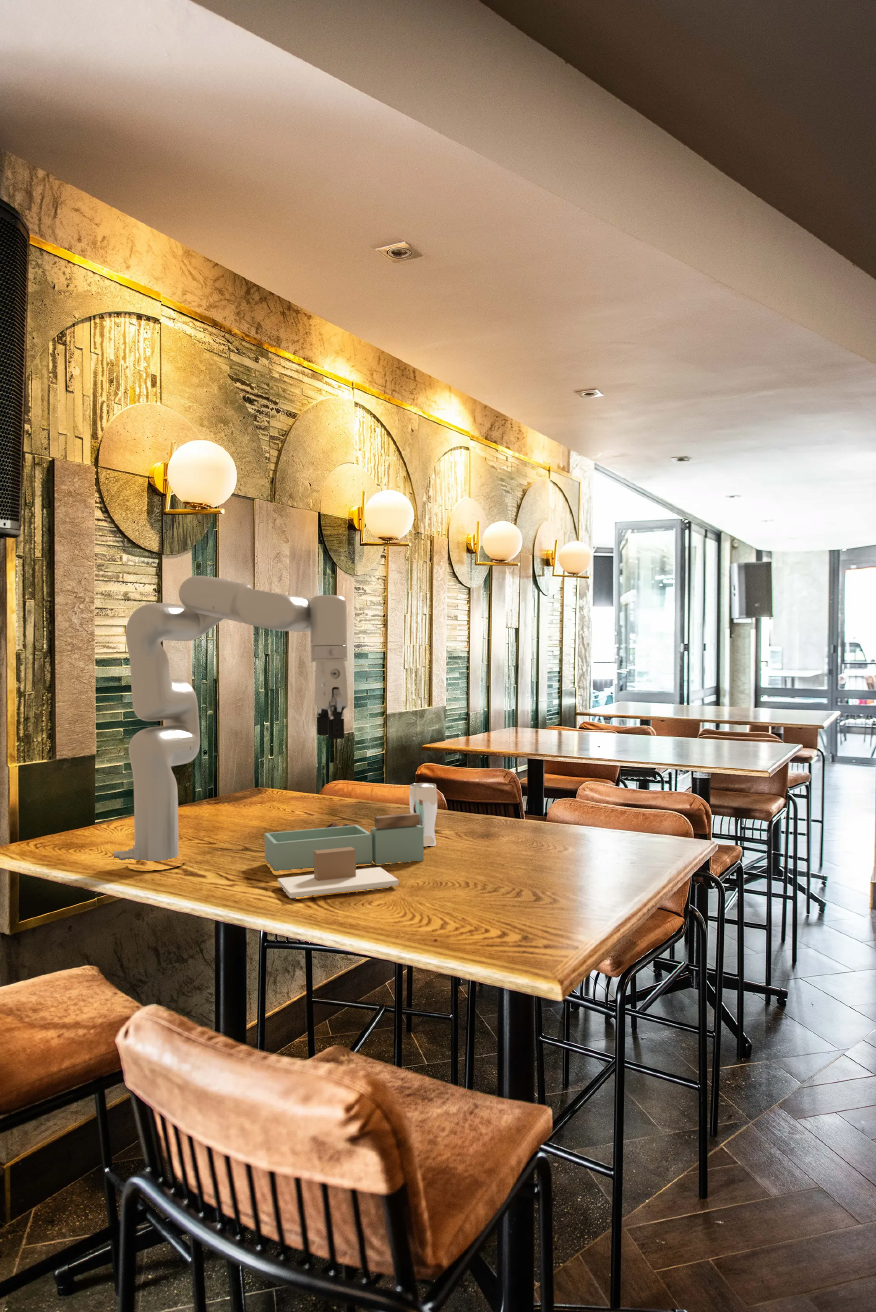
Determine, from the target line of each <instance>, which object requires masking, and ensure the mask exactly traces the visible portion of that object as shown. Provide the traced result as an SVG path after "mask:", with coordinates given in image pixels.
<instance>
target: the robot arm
mask: <svg viewBox="0 0 876 1312" xmlns="http://www.w3.org/2000/svg"><path fill="white" fill-rule="evenodd" d="M178 597H179V598H178V599H179V600H180V602H181V604H177V603H168V602H167V603H166V602H152V603H146V604H144V605H141V606H139V607H137V608H136V609H135V610H134V611H133V613H132V614H131V615H130V616H129V618H128V620H127V623H126V626H125V643H126V648H127V652H128V657H129V665H130V666H129V667H130V684H131V699H132V700H131V701H132V709H133V711H134V712H133V713H134V715H135V716H136V717H137V718H138V719H140V720H141V721H145V722H158V721H160V722H161V721H164V725H162V726H152V727H147V728H144V729H141V730H139V731H138V732H136V733H134V734H133V736H132V738H131V739H130V741H129V744H128V757H129V762H130V765H131V766H130V767H131V772H132V779H133V781H132V782H133V807H134V808H133V812H134V815H133V817H134V821H133V823H134V844H133V845H132V848H128V850H114V851H113V859H114V858H119V860H121V861H126V859H128V860H129V859H134V860H146V861H161V860H168V859H172V858H175V857H177V856H178V855H180V853H179V799H178V798H179V797H178V796H179V794H178V793H179V791H178V790H179V789H178V783H177V780H176V776H175V774H174V772H173V770H172V767H175V766H181V765H185V764H188V763H190V762H192V761H193V760H194V759H195V758H197V756H198V754H199V751H200V747H201V746H200V745H201V733H200V732H201V731H200V717H199V702H198V698H197V694H196V691H195V690H194V688H193V687H192V685H191V684H190V683H188V682H187V681H186V680H183V679H180V678H179V679H176V678H171V673H170V672H171V671H170V661H169V657H168V654H167V652H166V650H165V649H164V647H163V646H162V644H161V643H162V642H164V641H168V642H169V641H171V642H172V641H173V642H190V641H194V640H197V639H199V638H200V637H202V636H204V635H205V634H207V633H208V632H209V631H210V630H212V629H213V628H214V627H215V626H217V625H218V624H219V623H220V622H222V621H223V620H224V619H225V620H228V621H234V622H236V623H241V624H246V625H249V626H254V627H258V628H263V629H267V630H268V629H269V630H273V631H279V632H296V633H307V632H310V662H311V663H315V665H314V667H315V668H314V701H315V702H314V703H315V707H316V708H317V710H316V734H317V736H318V737H322V736H327V738H328V739H329V740H342V739H344V738H345V714H344V710H347V708H348V707H349V698H348V696H349V694H348V682H347V681H348V680H347V679H348V678H347V670H346V669H347V668H346V662H348V625H347V624H348V622H347V621H348V619H347V618H348V616H347V601H346V598H344V597H343V596H341V595H338V594H337V595H336V594H335V595H334V594H325V595H324V594H322V595H320V594H319V595H315V596H313V597H306V596H301V595H300V596H299V595H292V594H282V593H276V592H271V591H266V590H258V589H255V588H253V587H252V586H251V585H249V584H247V583H244V582H239V581H233V580H228V579H225V578H221V577H216V576H215V577H213V576H206V575H193V576H190V577H188V578H186V579H185V580H184V581H183V582H182V583H181V584H180V587H179V589H178ZM119 860H118V861H119Z"/></svg>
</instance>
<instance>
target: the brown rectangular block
mask: <svg viewBox="0 0 876 1312" xmlns="http://www.w3.org/2000/svg"><path fill="white" fill-rule="evenodd" d="M414 825H419V814H417V813H402V814H400V813H399V814H389V815H376V816H375V815H374V828H377V829H381V828H392V827H403V826H414Z"/></svg>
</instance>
